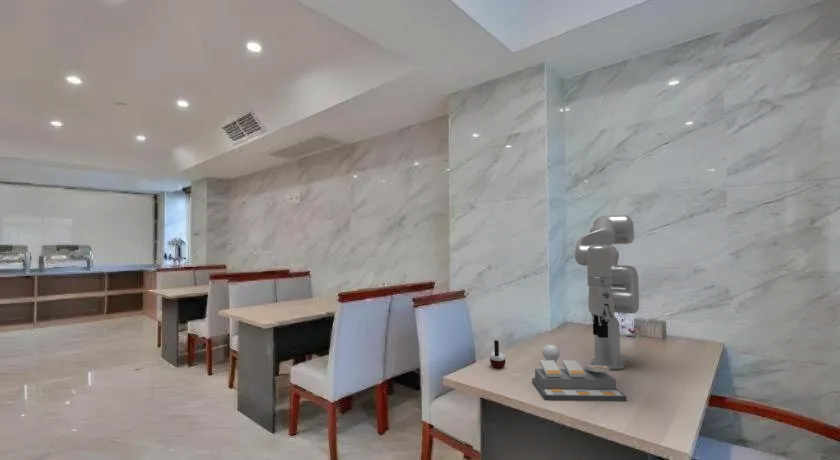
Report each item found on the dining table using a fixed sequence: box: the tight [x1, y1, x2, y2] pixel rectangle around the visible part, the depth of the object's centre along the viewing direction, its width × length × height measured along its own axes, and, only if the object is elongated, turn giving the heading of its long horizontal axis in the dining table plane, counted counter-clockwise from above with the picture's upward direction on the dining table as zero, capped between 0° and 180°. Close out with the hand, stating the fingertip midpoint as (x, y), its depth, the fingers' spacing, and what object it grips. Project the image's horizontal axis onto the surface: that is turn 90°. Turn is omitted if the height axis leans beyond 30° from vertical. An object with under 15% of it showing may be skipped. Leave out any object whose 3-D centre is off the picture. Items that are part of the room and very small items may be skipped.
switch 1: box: [539, 359, 562, 377], centre depth 134 cm, size 5×9×1 cm, turn 178°
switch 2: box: [561, 359, 586, 377], centre depth 133 cm, size 5×9×1 cm, turn 178°
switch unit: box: [531, 368, 627, 402], centre depth 131 cm, size 26×16×5 cm, turn 88°
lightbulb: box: [542, 344, 560, 364], centre depth 149 cm, size 6×6×11 cm
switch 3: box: [583, 364, 611, 373], centre depth 133 cm, size 5×9×1 cm, turn 178°
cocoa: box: [489, 339, 507, 370], centre depth 156 cm, size 10×6×12 cm, turn 142°
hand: (600, 335), depth 130 cm, fingers open, 3 cm apart
